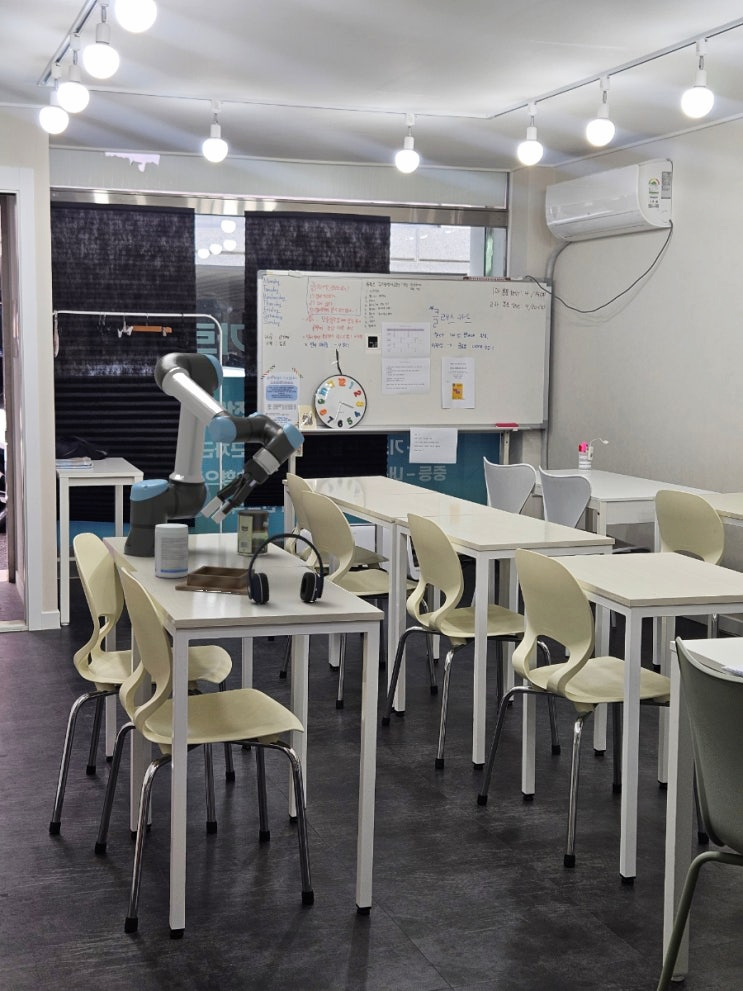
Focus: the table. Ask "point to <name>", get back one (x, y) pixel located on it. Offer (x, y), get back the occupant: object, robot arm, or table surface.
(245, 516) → the coffee can
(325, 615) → the table surface
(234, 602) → the table surface
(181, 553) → the supplement tub
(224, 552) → the table surface
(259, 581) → the headphones
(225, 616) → the table surface
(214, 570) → the tray
